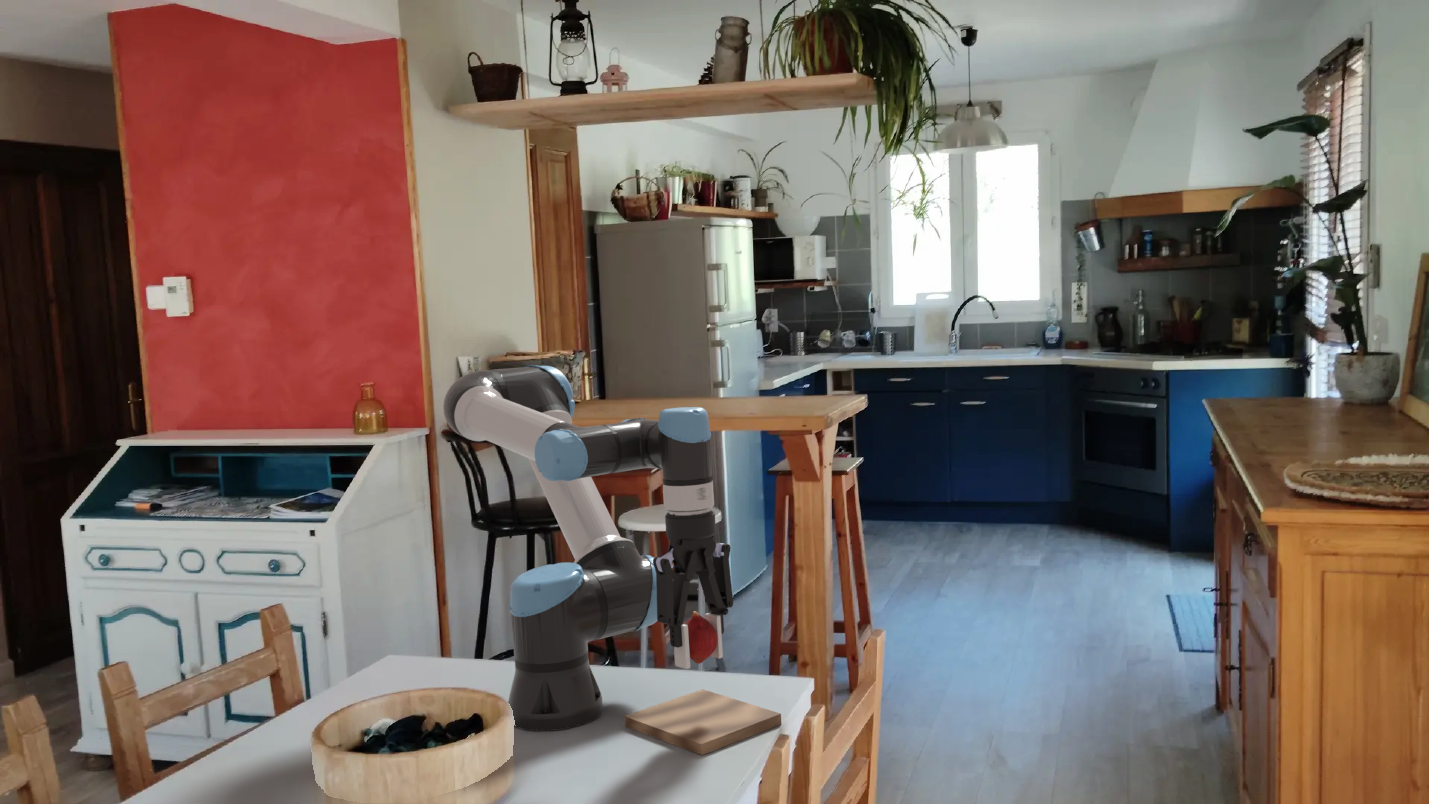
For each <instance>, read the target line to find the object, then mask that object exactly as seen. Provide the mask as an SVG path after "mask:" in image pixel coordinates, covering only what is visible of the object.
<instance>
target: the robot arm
mask: <svg viewBox="0 0 1429 804" xmlns="http://www.w3.org/2000/svg"><path fill="white" fill-rule="evenodd" d="M573 397H575V396H574V392H573V388H572V386H571V383H570V382H569V380H568V379H567V376H565V374H563V372H562V371H560V369H558V368H556V367H555V366H554V367H553V366H550V365H538V364H537V365H535V364H529V365H526V366H523V367H514V368H513V367H512V368H497V369H496V368H495V369H483V370H482V369H481V370H475V371H472V372H469V373H466V374H463V375H462V376H461V377H459V378H458V379H457V380H455V381H454V382H453V383H452V384H451V385H450V387H449V388H448V390H447V392H446V394H445V396H444V399H443V404H442V405H443V416H444V419H445V420H446V423H447V425H448V426H449V427H450V429H451V430H453V432H455V434H457V435H459V436H461V437H463V438H465V439H467V440H469V441H470V440H471V441H474V442H483V441H487V442H489V443H492V444H495V445H497V446H499V447H500V448H503V449H505V450H508V451H510V452H512V453H515V454H517V455H520V456H522V457H524V458H527V459H528V462H529V464H530V466H531V468H532V469H533V472H534V474H535V477H536V479H537V481H538V483H539V485H540V487H541V489H542V492H543V494H544V496H545V498H546V500H547V503H548V504H549V507H550V509H551V512H552V513H553V515H554V518H555V519H556V521H557V524H558V526H559V528H560V531H561V533H562V535H563V537H564V539H565V541H566V543H567V545H568V548H569V549H570V552H571V554H572V556H573V558H574V561H573V562H568V561H567V562H566V561H565V562H557V563H554V564H551V563H550V564H546V565H545V564H544V565H541V566H537V567H534V568H532V569H529V570H527V571H525V572H523V573H521V574H519V575H518V576H517V577H515V579H514V581H512V583H511V586H510V589H509V590H510V592H509V593H510V595H509V596H510V597H509V599H510V600H509V612H510V617H511V630H512V631H511V632H512V643H513V644H512V645H513V656H514V668H515V670H514V676H513V680H512V684H511V688H510V692H509V696H508V701H507V703H509V704H510V706H511V708H512V710H513V716H514V720H515V725H516V727H515V728H518V729H521V730H526V731H527V730H528V731H536V732H538V731H540V732H541V731H542V732H543V731H558V730H559V731H560V730H564V729H571V728H575V727H579V726H582V725H584V724H587V723H589V722H592V721H593V720H596V719H597V718H598V717H600V716H601V715H602V714H603V712H604V703H603V696H602V692H601V689H600V688H599V685H598V682H597V680H596V678H595V675H594V673H593V670H592V667H591V666H590V660H589V647H588V646H589V645H588V644H589V642H592V641H593V642H594V641H597V640H601V639H606V638H610V637H613V636H617V635H621V634H625V633H630V632H637V631H640V630H641V629H643V628H646V627H649V626H652V625H654V624H656V623H657V622H658V623H661V624H665V625H667V626H668V628H669V629H668V630H669V642H670V646H671V647H673V652H674V653H673V655H674V656H673V657H674V666H675V667H678V668H681V669H685V670H689V669H691V658H690V652H689V636H688V625H685V623H684V621H685V616H686V615H685V614H686V608H687V602H688V596H689V590H690V585H691V584H690V582H691V581H693V578H694V574H696V575H697V576H698V580H699V583H700V586H701V589H702V592H703V595H704V598H705V602H706V605H707V608H708V613H705V614H704V619H706V620H707V621H709V622H710V623H711V624H712V626H713V627H714V628H715V630H716V633H717V638H718V642H717V646H716V649H715V651H714V652H713V653H712V654H711V655H710V656H709V657H712V658H716V659H722V658H723V659H724V655H723V654H724V653H723V652H724V651H723V637H722V635H723V634H724V632H725V626H724V622H725V621H724V616H726V615H728V614H729V609H728V608H733V606H734V597H733V588H732V587H733V586H732V578H731V569H730V555H731V545H730V544H729V543H722V542H716V540H715V537H714V536H715V534H716V532H717V525H716V512H715V511H714V510H713V509H712V508H713V507H714V506H715V496H714V480H713V461H712V459H713V458H712V439H711V438H712V433H711V430H710V429H711V428H710V420H709V414H708V412H707V410H706V409H705V408H704V407H700V406H697V407H696V406H693V407H691V406H686V407H685V406H683V407H682V406H681V407H671V408H665V409H662V410H661V411H660V412H659V414H658V419H648V418H644V417H638V418H629V419H624V420H622V421H620V422H615V423H607V424H600V425H597V424H596V425H590V426H589V425H588V426H578V425H576V424H573V417H574V414H575V409H576V408H575V407H576V403H575V402H576V401H575V400H574V399H573ZM640 469H659V470H661V473H662V490H663V492H662V493H663V508H664V510H665V511H667V513H666V514H665V516H664V517H665V518H664V519H665V520H664V521H665V523H664V524H665V535H666V537H667V539H668V543H669V544H668V547H667V552H666V554H664V555H662V556H661V557H660V556H659V557H658V556H655V557H653V556H652V555H648V554H645V555H644V554H643V555H641V554H640V552H639V551H638V549H637V546H636V545H635V543H634V541H632V540H631V539H629V538H625V537H622V536H621V535H620V533H619V530H618V528H617V527H616V525H615V523H614V520H613V518H612V517H611V514H610V513H609V510H608V508H607V507H606V504H605V502H604V500H603V498H602V496H601V494H600V492H599V490H598V488H597V486H596V484H595V482H594V480H593V478H592V477H595V476H602V475H609V474H614V473H615V474H616V473H622V472H627V471H633V470H640Z"/></svg>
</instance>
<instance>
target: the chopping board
mask: <svg viewBox="0 0 1429 804" xmlns="http://www.w3.org/2000/svg"><path fill="white" fill-rule="evenodd" d="M623 719H624V727H626V728H629V729H632V730H634V731H636V732H639V733H641V734H644V735H647V736H650V737H652V738H654V739H656V740H657V739H658V740H659V741H660V740H661V741H663V742H666V743H668V744H671V745H674V746H677V747H678V748H682V749H683V750H684V749H685V750H687V751H689V752H692V753H695V754H697V755H700V756H703V755H705V754H708V753H712V752H714V751H716V750H719V749H721V748H723V747H724V748H725V747H726V746H729V745H732V744H733V743H734V744H735V743H737V742H739V741H742V740H744V739H746V738H749V737H752V736H754V735H757V734H759V733H760V734H761V733H762V732H765V731H767V730H769V729H772V728H775V727H777V726H780V725H782V713H780V712H776V711H774V710H770V709H768V708H764V707H760V706H757V705H755V704H752V703H748V702H745V701H741V700H740V699H739V700H738V699H735V698H732V697H729V696H725V695H724V694H723V695H722V694H719V693H717V692H712V691H711V690H706V689H700V690H696V691H693V692H691V693H688V694H685V695H683V696H679V697H676V698H673V699H670V700H667V701H665V702H662V703H658V704H656V705H653V706H650V707H646V708H644V709H641V710H638V711H636V712H632V713H629V714H626V715H624V718H623Z"/></svg>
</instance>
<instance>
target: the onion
mask: <svg viewBox="0 0 1429 804" xmlns="http://www.w3.org/2000/svg"><path fill="white" fill-rule="evenodd" d="M691 613H692V614H691V617H690V619H688V620H687V621H686V622H685V623H684V624H685V625H688V636H689V652H690V660H692V662H694V663H695V664H699V665H700V664H702V663H703V662H705V661H706V660H707V659H708V658H709V657H711V656H710V655H711V654H712V653H713V652H714V651H715V649H716V646H717V642H718V638H717V633H716V630H715V628H714V627H713V626H712V624H711V623H710V622H709V621H707V620H706V619H705V617H703V616H702V615H700V613H698V611H695V610H694V611H692V612H691Z"/></svg>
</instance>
